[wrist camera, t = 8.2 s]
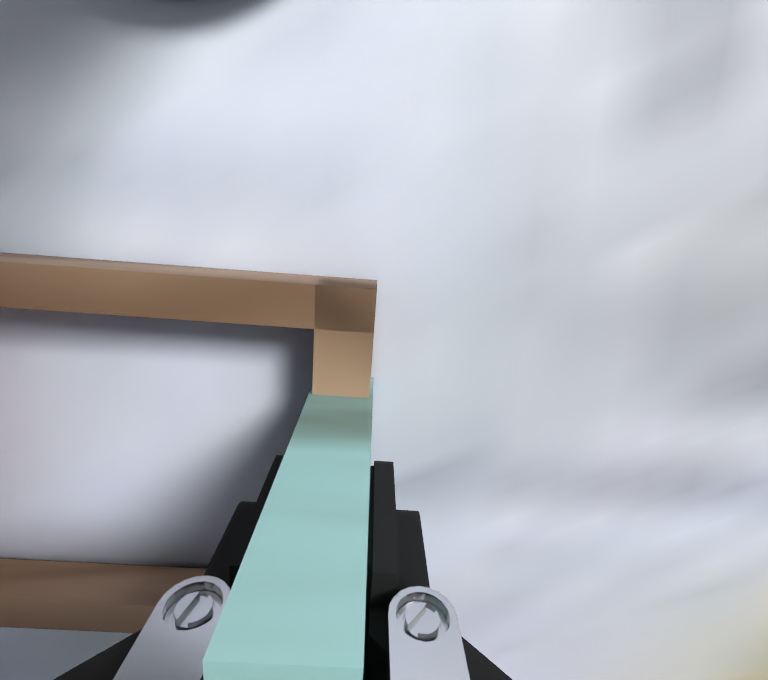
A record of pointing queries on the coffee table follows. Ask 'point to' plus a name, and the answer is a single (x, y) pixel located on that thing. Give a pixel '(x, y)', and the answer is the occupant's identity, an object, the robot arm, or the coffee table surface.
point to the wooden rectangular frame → (287, 495)
